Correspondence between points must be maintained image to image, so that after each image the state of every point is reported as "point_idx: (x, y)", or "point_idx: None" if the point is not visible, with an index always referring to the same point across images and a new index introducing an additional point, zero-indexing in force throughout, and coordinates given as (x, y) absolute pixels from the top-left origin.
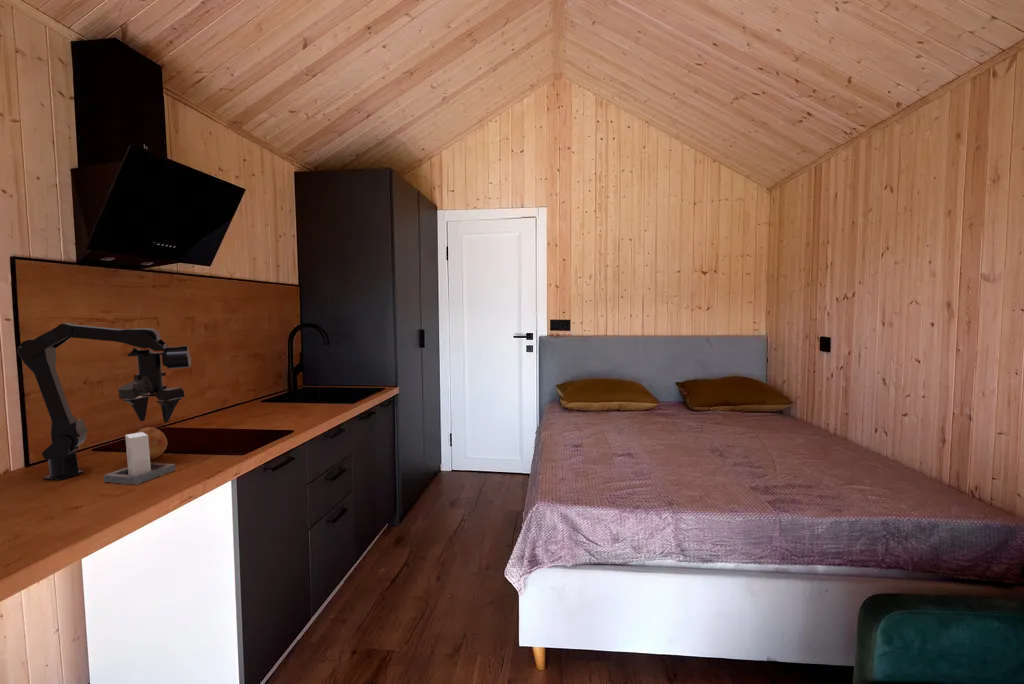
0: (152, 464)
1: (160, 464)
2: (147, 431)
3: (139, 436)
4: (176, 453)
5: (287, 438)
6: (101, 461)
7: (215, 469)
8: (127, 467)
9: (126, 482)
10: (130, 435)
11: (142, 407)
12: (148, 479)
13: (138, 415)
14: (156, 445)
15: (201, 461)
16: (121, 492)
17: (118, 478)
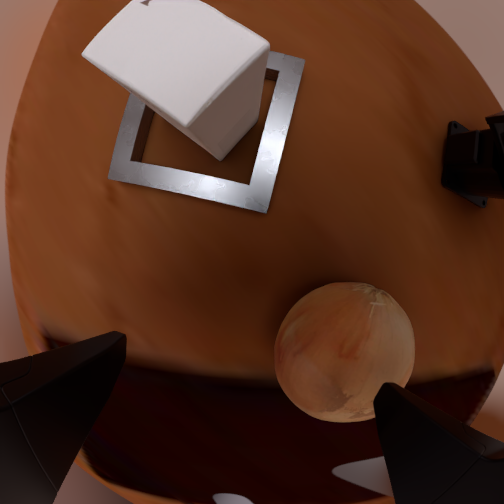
0: (197, 174)
1: (161, 173)
2: (349, 373)
3: (115, 17)
4: (270, 379)
5: None
6: (457, 297)
7: (25, 200)
8: (282, 139)
9: None
10: (202, 22)
11: (421, 478)
12: None
13: (419, 404)
14: (283, 328)
15: (105, 284)
16: None
17: None
